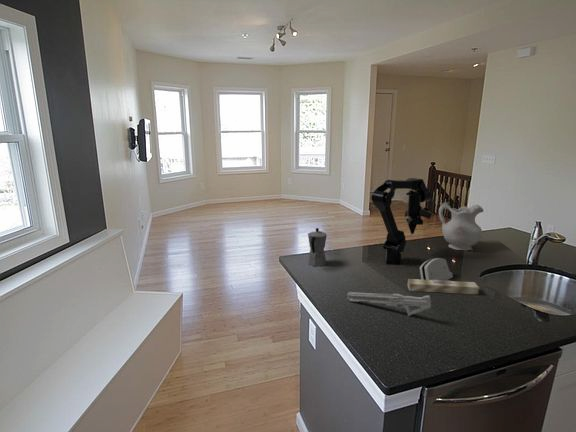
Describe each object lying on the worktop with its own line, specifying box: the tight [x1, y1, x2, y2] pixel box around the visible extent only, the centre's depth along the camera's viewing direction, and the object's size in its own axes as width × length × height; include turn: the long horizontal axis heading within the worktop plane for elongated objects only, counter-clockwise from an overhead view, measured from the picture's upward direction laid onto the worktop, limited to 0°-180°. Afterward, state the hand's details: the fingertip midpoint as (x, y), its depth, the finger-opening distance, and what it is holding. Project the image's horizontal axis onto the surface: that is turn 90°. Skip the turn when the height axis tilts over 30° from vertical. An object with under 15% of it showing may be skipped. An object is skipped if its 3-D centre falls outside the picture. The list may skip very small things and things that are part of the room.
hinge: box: [419, 257, 454, 281], centre depth 153 cm, size 17×5×10 cm, turn 127°
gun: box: [346, 291, 432, 317], centre depth 128 cm, size 2×30×8 cm, turn 59°
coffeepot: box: [307, 227, 328, 267], centre depth 171 cm, size 15×9×18 cm, turn 160°
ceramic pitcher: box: [438, 201, 484, 252], centre depth 191 cm, size 22×20×25 cm
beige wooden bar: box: [407, 278, 480, 295], centre depth 143 cm, size 26×5×3 cm, turn 81°
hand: (412, 233), depth 178 cm, fingers closed
